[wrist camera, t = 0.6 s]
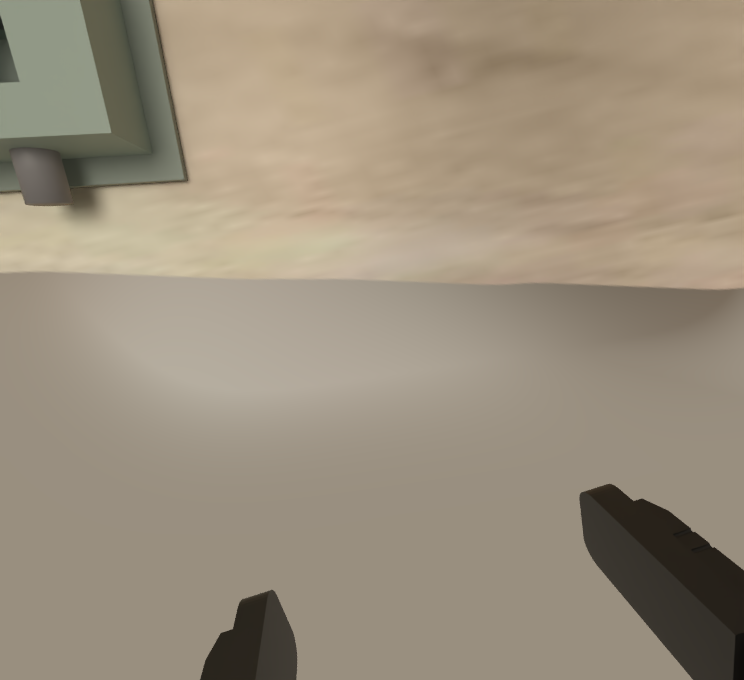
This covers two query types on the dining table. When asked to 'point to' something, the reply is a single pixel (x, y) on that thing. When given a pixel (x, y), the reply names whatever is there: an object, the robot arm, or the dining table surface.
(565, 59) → the dining table surface
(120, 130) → the grey-green knobbed device
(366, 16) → the dining table surface
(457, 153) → the dining table surface
